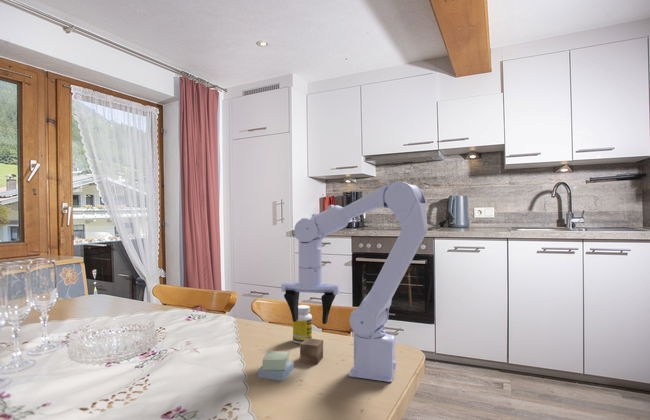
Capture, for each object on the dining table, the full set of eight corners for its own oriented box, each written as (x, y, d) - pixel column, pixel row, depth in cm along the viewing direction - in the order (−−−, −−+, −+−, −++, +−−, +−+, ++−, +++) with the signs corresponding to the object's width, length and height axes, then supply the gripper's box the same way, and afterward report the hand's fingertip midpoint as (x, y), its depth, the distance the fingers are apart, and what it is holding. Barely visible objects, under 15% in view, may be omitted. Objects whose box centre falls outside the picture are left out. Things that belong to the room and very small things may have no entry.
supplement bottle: (309, 345, 102) (309, 309, 102) (290, 343, 103) (290, 308, 103) (313, 338, 107) (313, 304, 108) (295, 337, 108) (296, 303, 109)
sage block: (288, 361, 86) (288, 351, 86) (285, 370, 81) (285, 360, 81) (267, 360, 86) (267, 351, 87) (262, 369, 82) (262, 359, 82)
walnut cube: (323, 357, 93) (323, 340, 93) (317, 364, 89) (317, 345, 89) (306, 355, 95) (306, 338, 95) (300, 362, 90) (300, 343, 90)
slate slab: (293, 371, 86) (293, 362, 86) (283, 383, 80) (283, 372, 80) (269, 368, 87) (269, 359, 87) (258, 379, 82) (258, 369, 82)
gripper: (342, 265, 94) (342, 319, 94) (288, 263, 98) (288, 315, 98) (335, 269, 87) (335, 327, 87) (278, 267, 91) (278, 323, 91)
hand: (310, 321), depth 92 cm, fingers open, 7 cm apart
